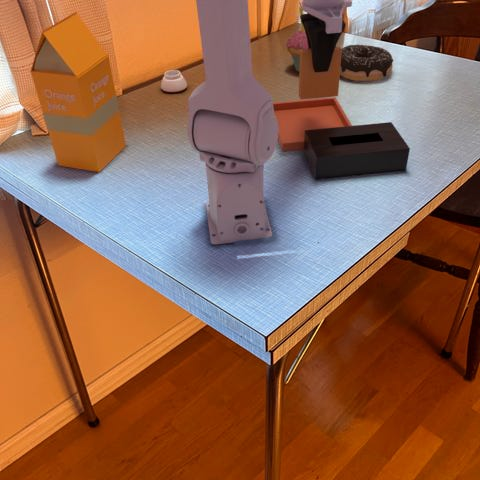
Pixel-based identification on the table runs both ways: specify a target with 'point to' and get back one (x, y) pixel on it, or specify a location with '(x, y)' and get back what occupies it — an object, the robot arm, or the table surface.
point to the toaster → (355, 150)
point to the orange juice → (77, 96)
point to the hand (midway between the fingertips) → (319, 68)
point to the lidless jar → (173, 81)
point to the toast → (318, 76)
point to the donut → (365, 63)
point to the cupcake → (297, 44)
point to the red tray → (306, 119)
